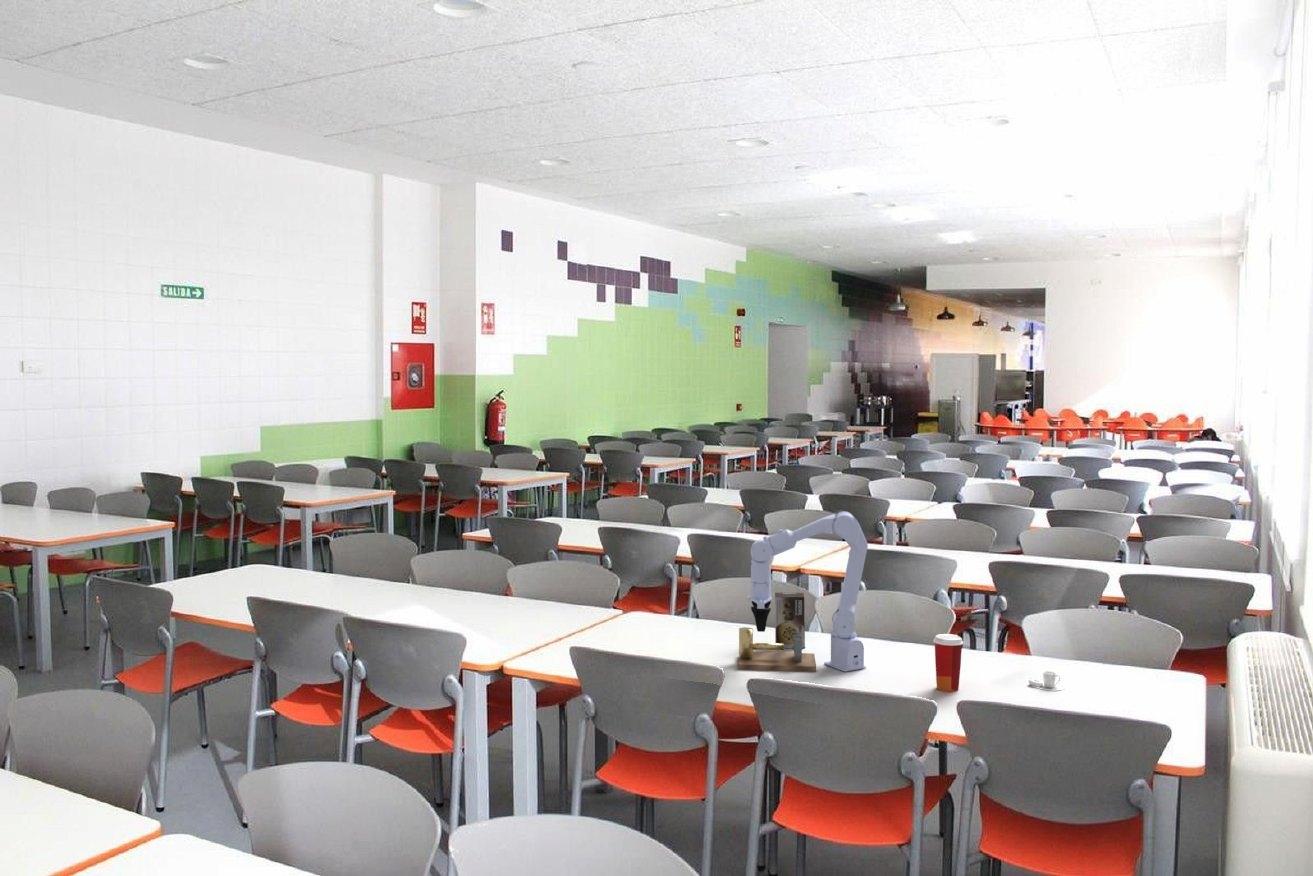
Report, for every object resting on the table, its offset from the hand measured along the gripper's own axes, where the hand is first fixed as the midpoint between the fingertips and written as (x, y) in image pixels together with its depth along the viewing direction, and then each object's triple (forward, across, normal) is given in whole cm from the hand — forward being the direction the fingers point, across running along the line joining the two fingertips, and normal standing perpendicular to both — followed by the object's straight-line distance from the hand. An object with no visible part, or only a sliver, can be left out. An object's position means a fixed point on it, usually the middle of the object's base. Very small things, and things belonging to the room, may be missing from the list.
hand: (761, 628), depth 300 cm
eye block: (+10, +1, +4) cm, 11 cm away
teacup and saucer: (+12, +13, +76) cm, 78 cm away
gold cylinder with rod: (+8, +1, 0) cm, 8 cm away
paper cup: (+11, +20, +49) cm, 55 cm away
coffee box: (+10, -20, +9) cm, 25 cm away
